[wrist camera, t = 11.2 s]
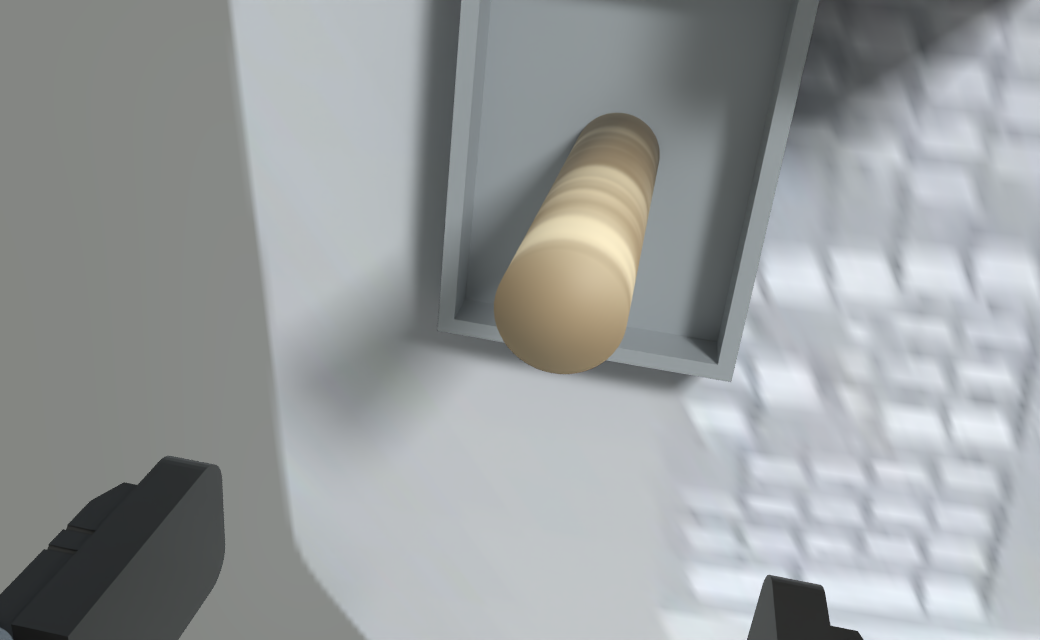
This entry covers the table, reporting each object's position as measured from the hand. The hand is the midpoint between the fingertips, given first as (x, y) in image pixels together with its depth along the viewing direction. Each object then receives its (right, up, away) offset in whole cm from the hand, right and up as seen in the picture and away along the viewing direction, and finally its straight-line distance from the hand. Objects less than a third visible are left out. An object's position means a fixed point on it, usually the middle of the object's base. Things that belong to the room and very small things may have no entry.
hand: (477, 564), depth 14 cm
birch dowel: (+4, +9, +20) cm, 22 cm away
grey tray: (+4, +10, +20) cm, 23 cm away
